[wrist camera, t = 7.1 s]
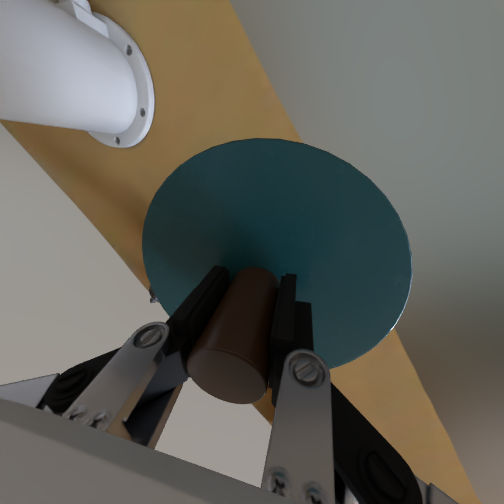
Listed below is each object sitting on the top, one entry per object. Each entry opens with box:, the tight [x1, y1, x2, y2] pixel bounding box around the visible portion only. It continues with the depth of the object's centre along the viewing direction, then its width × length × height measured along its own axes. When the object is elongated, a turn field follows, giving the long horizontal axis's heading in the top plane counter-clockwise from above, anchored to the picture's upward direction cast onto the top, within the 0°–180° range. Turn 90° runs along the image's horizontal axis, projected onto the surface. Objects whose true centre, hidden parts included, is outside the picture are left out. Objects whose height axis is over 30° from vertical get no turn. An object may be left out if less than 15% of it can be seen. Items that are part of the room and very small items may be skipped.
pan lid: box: [142, 138, 413, 404], centre depth 9 cm, size 14×14×6 cm
